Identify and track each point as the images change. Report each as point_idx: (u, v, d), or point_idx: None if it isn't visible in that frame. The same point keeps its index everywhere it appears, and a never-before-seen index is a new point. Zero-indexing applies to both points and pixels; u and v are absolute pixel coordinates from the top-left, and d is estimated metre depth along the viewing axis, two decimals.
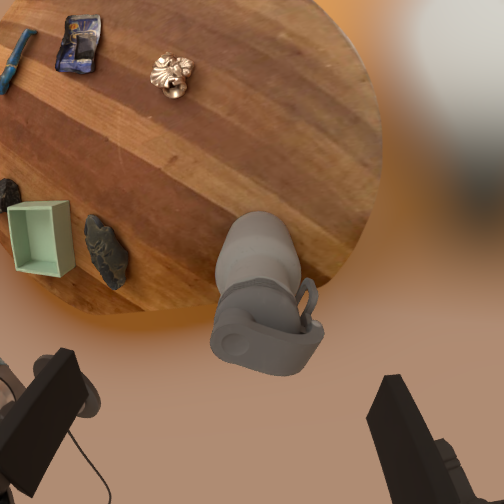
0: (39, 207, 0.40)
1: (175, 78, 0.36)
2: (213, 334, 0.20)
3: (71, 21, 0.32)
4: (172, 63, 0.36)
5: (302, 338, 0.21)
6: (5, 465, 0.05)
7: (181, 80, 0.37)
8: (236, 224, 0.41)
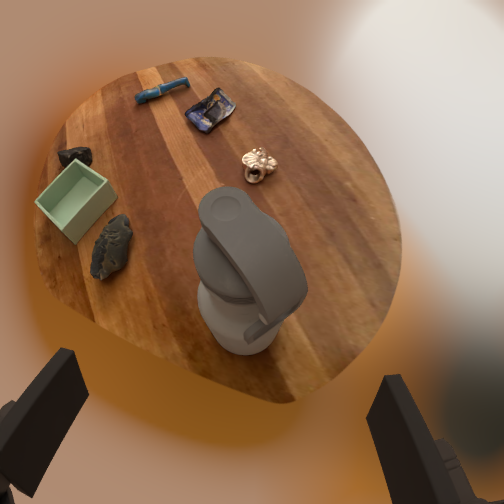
0: (98, 174, 0.49)
1: (260, 165, 0.53)
2: (214, 190, 0.20)
3: (217, 93, 0.63)
4: (264, 156, 0.54)
5: None
6: (5, 465, 0.05)
7: (263, 169, 0.53)
8: None
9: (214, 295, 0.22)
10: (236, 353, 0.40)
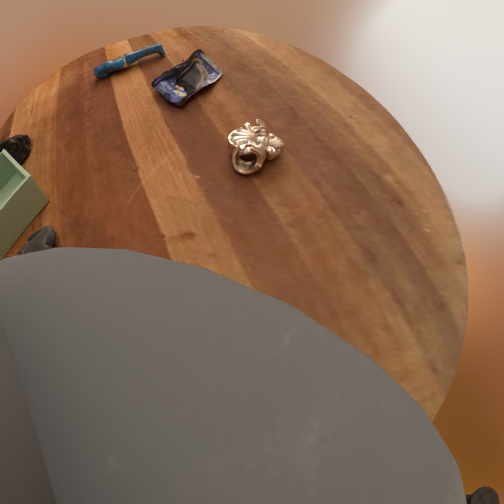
0: (21, 168, 0.29)
1: (256, 146, 0.33)
2: None
3: (198, 56, 0.43)
4: (263, 132, 0.34)
5: None
6: None
7: (261, 152, 0.33)
8: None
9: None
10: None
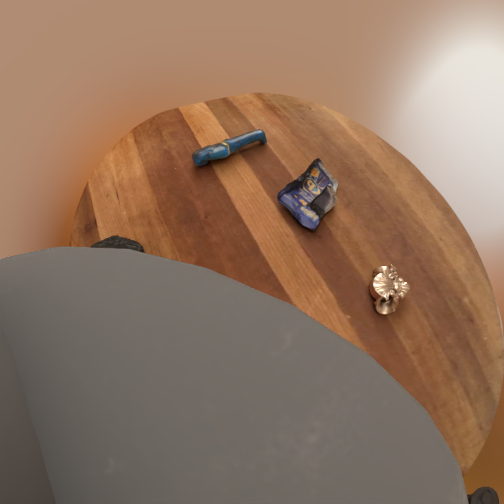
0: None
1: (395, 295, 0.40)
2: None
3: (317, 165, 0.50)
4: (397, 279, 0.41)
5: None
6: None
7: (398, 300, 0.40)
8: None
9: None
10: None
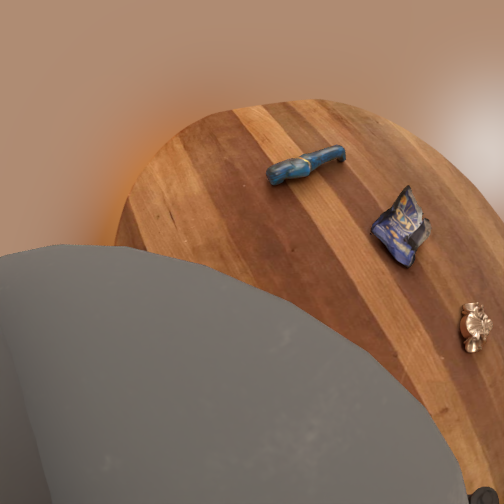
0: None
1: (484, 334, 0.33)
2: None
3: (406, 193, 0.43)
4: (484, 318, 0.34)
5: None
6: None
7: (485, 338, 0.33)
8: None
9: None
10: None
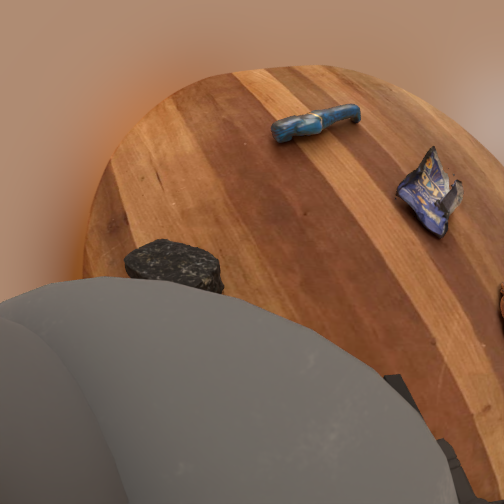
0: None
1: None
2: None
3: (432, 155, 0.34)
4: None
5: None
6: None
7: None
8: None
9: None
10: None
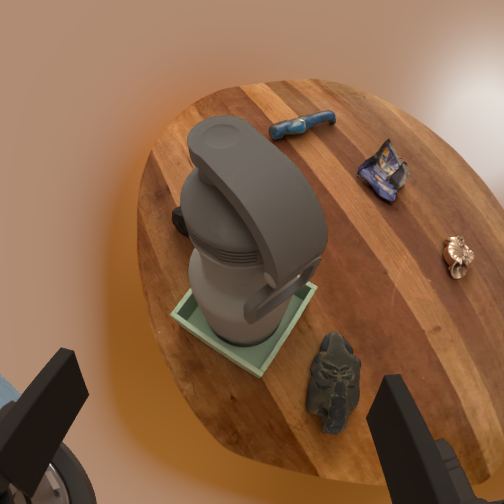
0: None
1: (466, 260, 0.40)
2: (207, 119, 0.15)
3: (387, 145, 0.50)
4: (465, 247, 0.41)
5: None
6: (5, 465, 0.05)
7: (468, 265, 0.40)
8: None
9: (206, 255, 0.18)
10: (234, 345, 0.35)
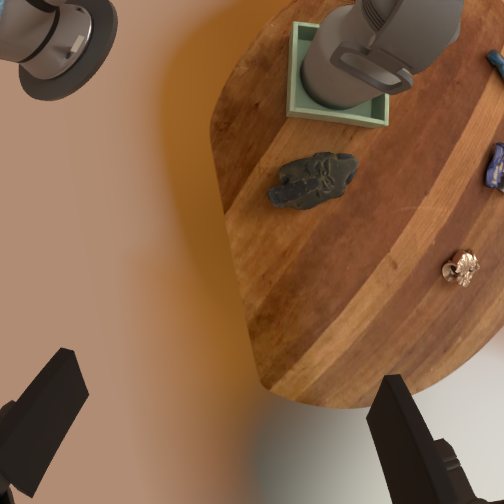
0: (387, 103, 0.31)
1: (460, 277, 0.41)
2: None
3: None
4: (471, 274, 0.40)
5: None
6: (5, 465, 0.05)
7: (456, 281, 0.41)
8: None
9: None
10: (302, 81, 0.34)
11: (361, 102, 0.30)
